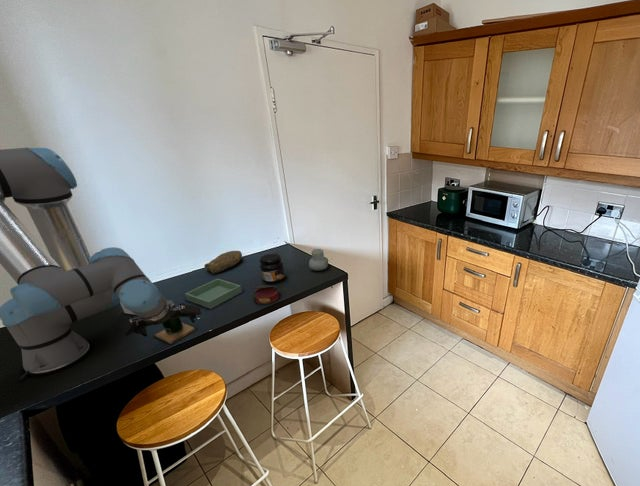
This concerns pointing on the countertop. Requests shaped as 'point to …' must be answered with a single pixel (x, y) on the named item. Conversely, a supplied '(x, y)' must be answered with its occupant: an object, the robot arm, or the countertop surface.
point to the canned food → (266, 294)
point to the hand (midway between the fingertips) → (169, 325)
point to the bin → (213, 293)
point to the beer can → (172, 323)
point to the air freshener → (318, 260)
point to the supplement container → (272, 268)
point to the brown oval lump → (224, 261)
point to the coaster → (173, 338)
